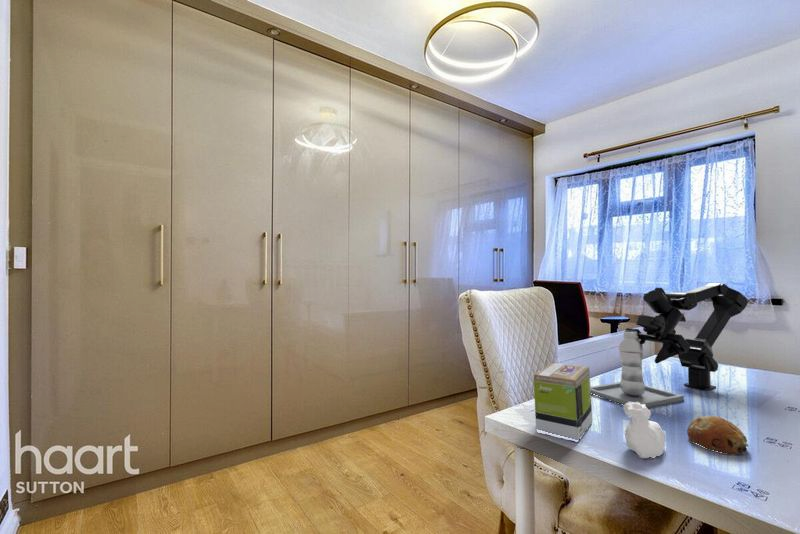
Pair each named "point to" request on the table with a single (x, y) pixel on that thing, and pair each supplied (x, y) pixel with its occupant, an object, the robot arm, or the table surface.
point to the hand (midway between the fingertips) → (641, 359)
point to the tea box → (563, 400)
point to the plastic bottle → (631, 365)
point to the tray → (650, 397)
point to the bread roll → (717, 435)
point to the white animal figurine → (643, 431)
